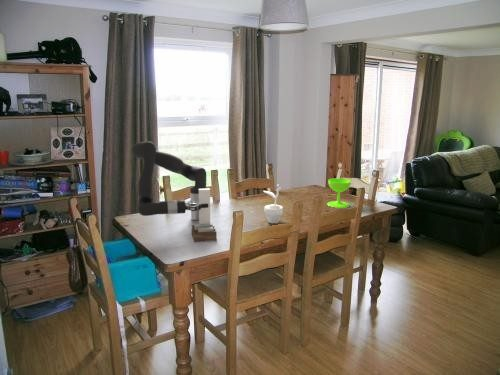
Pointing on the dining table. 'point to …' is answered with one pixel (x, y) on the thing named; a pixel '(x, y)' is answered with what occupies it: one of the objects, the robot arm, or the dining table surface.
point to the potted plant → (273, 208)
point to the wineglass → (339, 186)
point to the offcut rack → (203, 235)
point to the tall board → (204, 212)
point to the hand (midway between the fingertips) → (207, 204)
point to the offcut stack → (204, 227)
